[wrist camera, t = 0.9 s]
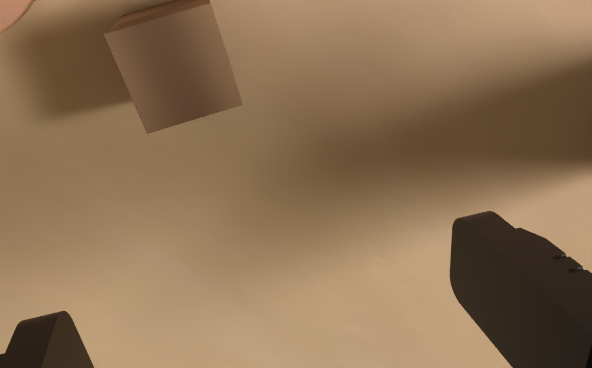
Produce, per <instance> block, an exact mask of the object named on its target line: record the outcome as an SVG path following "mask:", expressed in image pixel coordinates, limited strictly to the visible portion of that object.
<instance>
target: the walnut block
mask: <svg viewBox="0 0 592 368" xmlns="http://www.w3.org/2000/svg"><path fill="white" fill-rule="evenodd" d="M104 37H105V39H106V41H107V43H108V46H109V48H110V50H111V52H112V55H113V57H114V59H115V62H116V64H117V66H118V68H119V71H120V73H121V75H122V77H123V80H124V82H125V84H126V87H127V89H128V91H129V93H130V96H131V98H132V100H133V102H134V105H135V107H136V109H137V111H138V114H139V116H140V118H141V121H142V123H143V125H144V127H145V130H146V132H147V134H148V133H151V132H155V131H158V130H161V129H164V128H168V127H171V126H174V125H177V124H181V123H184V122H187V121H191V120H194V119H197V118H200V117H204V116H207V115H210V114H213V113H217V112H220V111H223V110H227V109H230V108H233V107H236V106H240V105H242V101H241V98H240V95H239V92H238V89H237V86H236V83H235V79H234V76H233V73H232V70H231V67H230V64H229V61H228V57H227V54H226V51H225V48H224V45H223V42H222V38H221V35H220V32H219V29H218V26H217V23H216V20H215V16H214V13H213V10H212V7H211V4H210V1H209V0H176V1H172V2H169V3H165V4H162V5H158V6H155V7H151V8H148V9H145V10H141V11H138V12H134V13H131V14H127V15H124V16H122V17H121V18H120V19H119V20H118V21H117V22H116V23H115V24H114V25H113V26H112V27H111V28H110V29H109V30H108V31H106V32H105V33H104Z"/></svg>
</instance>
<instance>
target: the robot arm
mask: <svg viewBox="0 0 592 368" xmlns="http://www.w3.org/2000/svg"><path fill="white" fill-rule="evenodd" d="M450 281H451V286H452V289H453V292H454V294H455V296H456V298H457V300H458V302H459V303H460V304H461V305H462V307H463V308H464V309H465V310H466V312H467V313H468V314H469V315H470V316H471V318H472V319H473V320H474V321H475V323H476V324H477V325H478V326H479V327H480V329H481V330H482V331H483V332H484V333H485V335H486V336H487V337H488V338H489V340H490V341H491V342H492V343H493V344H494V346H495V347H496V348H497V349H498V350H499V352H500V353H501V354H502V355H503V357H504V358H505V359H506V360H507V361H508V363H509V364H510V365H511V366H512V367H513V368H592V273H591V272H589V271H588V270H583V268H582V266H581V265H580V264H579V263H577V262H576V261H575V260H573V259H572V258H571V257H566V254H565V253H564V252H563V251H562V250H560V249H559V248H558V247H556V246H555V245H554V244H552V243H551V242H550V241H548V240H547V239H546V238H543V237H541V236H539V235H536V234H534V233H532V232H529V231H527V230H524V229H522V228H517V229H515V228H514V227H513V226H511V225H510V224H509V223H508V222H506V221H505V220H504V219H503V218H501V217H500V216H499V215H498V214H496V213H495V212H492V211H487V212H482V213H478V214H474V215H470V216H466V217H461V218H457V219H456V220H455V221H454V223H453V227H452V244H451V262H450ZM0 368H94V366H93V364H92V362H91V360H90V357H89V355H88V353H87V351H86V349H85V346H84V344H83V342H82V340H81V338H80V335H79V333H78V331H77V329H76V327H75V325H74V322H73V320H72V318H71V316H70V315H69V314H68V313H67V312H66V311H61V312H57V313H52V314H48V315H44V316H40V317H36V318H31V319H27V320H23V321H21V322H19V324H18V325H17V327H16V329H15V331H14V334H13V336H12V338H11V341H10V343H9V345H8V348H7V350H6V352H5V354H1V355H0Z"/></svg>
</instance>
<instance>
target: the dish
mask: <svg viewBox="0 0 592 368" xmlns="http://www.w3.org/2000/svg"><path fill="white" fill-rule="evenodd" d="M33 2H34V0H0V32H2V31H4V30H6V29H8V28H9V27H11V26H12V25H13V24H15V23H16V22H17V21H18V20H20V18H21V17H22V16H23V15H24V14H25V13H26V12H27V11H28V9H29V8H30V6H31V5H32V3H33Z"/></svg>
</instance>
